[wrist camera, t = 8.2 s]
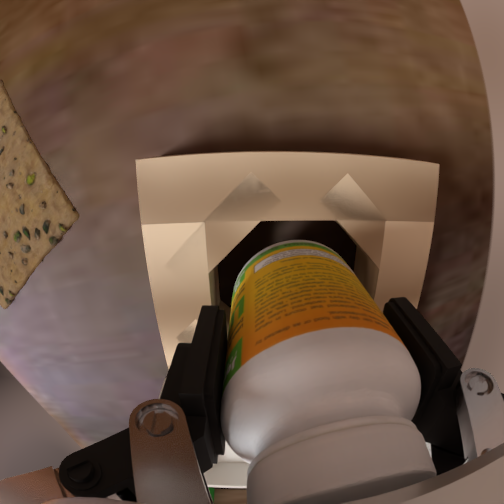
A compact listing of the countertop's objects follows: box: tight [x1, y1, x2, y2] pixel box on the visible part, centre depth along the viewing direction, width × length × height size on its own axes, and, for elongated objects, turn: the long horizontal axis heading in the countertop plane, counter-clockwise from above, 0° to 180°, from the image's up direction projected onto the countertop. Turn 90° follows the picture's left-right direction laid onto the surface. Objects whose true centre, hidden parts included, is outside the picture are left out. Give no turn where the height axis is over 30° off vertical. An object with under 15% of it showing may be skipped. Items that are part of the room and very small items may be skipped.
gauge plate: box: [136, 151, 439, 369], centre depth 13 cm, size 12×12×3 cm
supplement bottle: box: [220, 240, 437, 504], centre depth 8 cm, size 5×5×10 cm
